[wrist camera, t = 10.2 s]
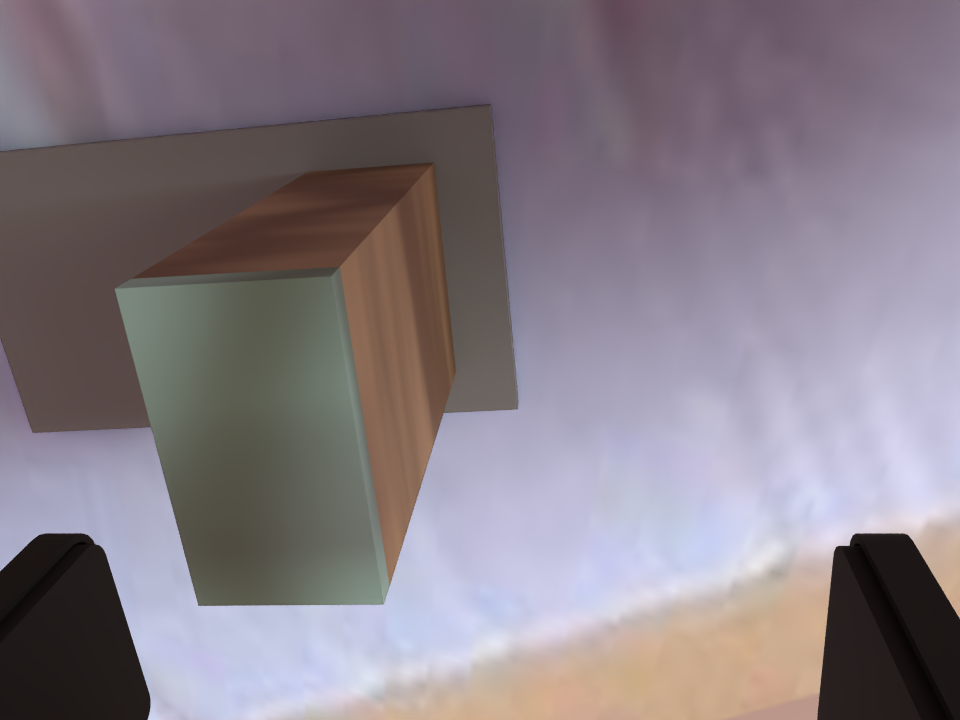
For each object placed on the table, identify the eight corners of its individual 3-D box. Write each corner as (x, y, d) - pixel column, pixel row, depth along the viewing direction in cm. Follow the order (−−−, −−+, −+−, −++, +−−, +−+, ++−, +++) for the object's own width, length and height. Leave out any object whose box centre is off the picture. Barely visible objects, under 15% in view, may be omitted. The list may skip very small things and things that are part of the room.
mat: (490, 104, 25) (489, 106, 25) (518, 401, 29) (517, 409, 28) (-49, 155, 27) (-61, 158, 27) (41, 425, 31) (32, 432, 31)
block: (433, 162, 25) (331, 276, 14) (456, 371, 28) (383, 604, 17) (307, 171, 26) (114, 288, 15) (341, 376, 28) (198, 605, 17)
